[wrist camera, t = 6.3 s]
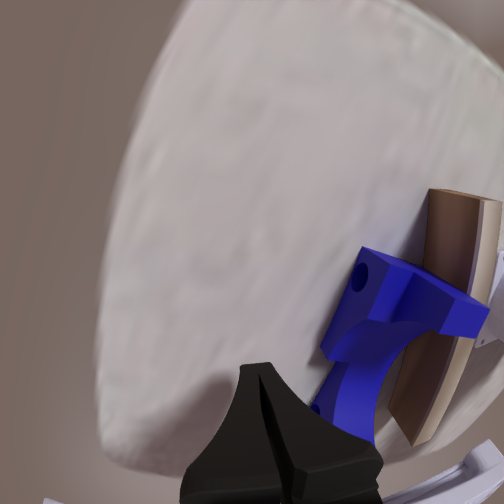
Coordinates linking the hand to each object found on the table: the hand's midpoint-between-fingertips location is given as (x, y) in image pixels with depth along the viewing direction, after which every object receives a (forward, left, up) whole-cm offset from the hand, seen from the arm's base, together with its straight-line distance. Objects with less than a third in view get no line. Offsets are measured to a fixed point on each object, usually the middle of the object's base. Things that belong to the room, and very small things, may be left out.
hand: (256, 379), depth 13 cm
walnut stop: (-11, 0, -3) cm, 11 cm away
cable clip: (-6, +1, -3) cm, 7 cm away
